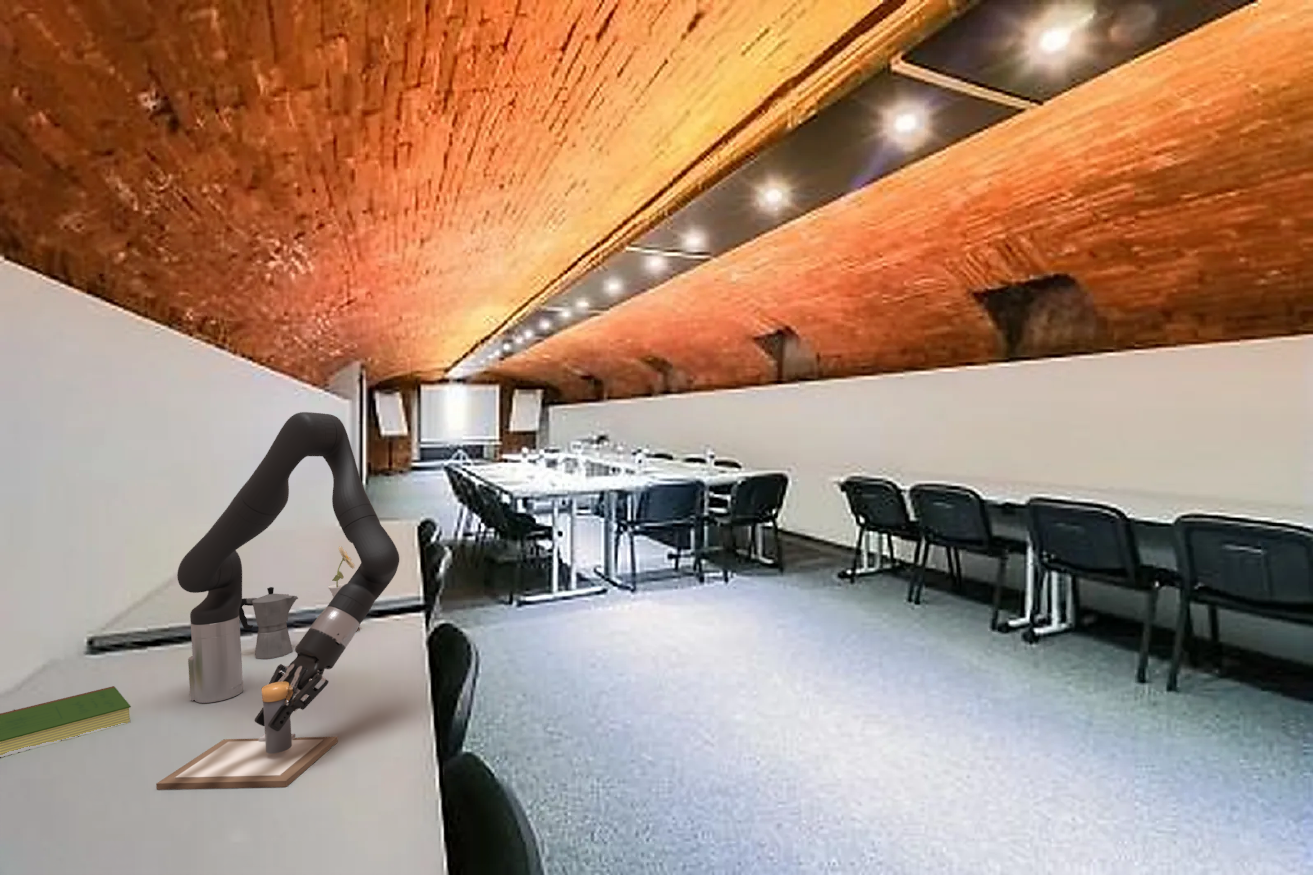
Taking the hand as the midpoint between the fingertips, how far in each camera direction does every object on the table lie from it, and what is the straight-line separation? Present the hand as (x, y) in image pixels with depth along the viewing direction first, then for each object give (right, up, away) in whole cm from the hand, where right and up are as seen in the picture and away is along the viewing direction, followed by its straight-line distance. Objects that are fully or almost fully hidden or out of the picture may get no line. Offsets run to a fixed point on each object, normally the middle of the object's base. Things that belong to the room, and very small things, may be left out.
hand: (266, 726), depth 118 cm
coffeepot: (-36, -8, +65) cm, 75 cm away
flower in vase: (-26, -8, +84) cm, 89 cm away
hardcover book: (-56, -10, +20) cm, 60 cm away
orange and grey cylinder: (+1, -5, +2) cm, 5 cm away
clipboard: (-3, -7, +1) cm, 8 cm away
